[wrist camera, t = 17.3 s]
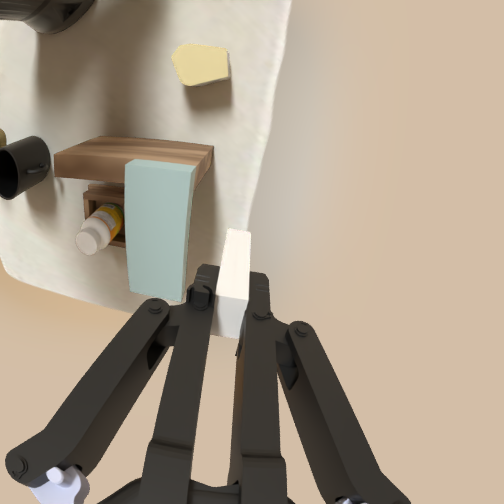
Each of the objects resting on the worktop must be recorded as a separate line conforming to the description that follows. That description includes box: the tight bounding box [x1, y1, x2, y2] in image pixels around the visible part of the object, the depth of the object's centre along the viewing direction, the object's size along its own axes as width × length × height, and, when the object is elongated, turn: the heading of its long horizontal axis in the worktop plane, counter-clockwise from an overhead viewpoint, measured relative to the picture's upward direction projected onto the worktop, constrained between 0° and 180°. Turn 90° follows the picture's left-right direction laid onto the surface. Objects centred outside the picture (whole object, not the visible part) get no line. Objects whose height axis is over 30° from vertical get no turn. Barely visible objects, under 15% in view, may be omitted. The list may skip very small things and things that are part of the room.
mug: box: [0, 136, 50, 200], centre depth 33 cm, size 9×12×9 cm
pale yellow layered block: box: [172, 44, 231, 87], centre depth 29 cm, size 10×9×6 cm
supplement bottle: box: [76, 202, 125, 255], centre depth 39 cm, size 5×5×10 cm
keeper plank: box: [125, 159, 196, 302], centre depth 30 cm, size 16×7×2 cm, turn 169°
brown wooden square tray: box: [83, 184, 126, 248], centre depth 42 cm, size 10×10×3 cm
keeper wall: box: [54, 136, 213, 192], centre depth 32 cm, size 3×19×12 cm, turn 79°
